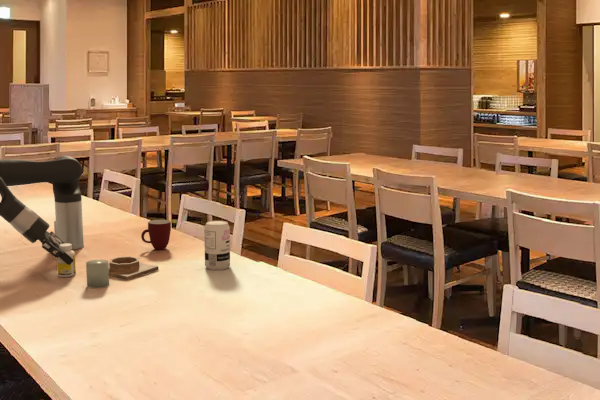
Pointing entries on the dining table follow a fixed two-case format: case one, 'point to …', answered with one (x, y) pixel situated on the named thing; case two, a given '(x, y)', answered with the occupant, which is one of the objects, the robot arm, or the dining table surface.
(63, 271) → the supplement bottle
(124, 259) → the caddy
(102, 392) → the dining table surface
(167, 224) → the mug
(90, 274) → the sage green domed cylinder
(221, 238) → the supplement can
